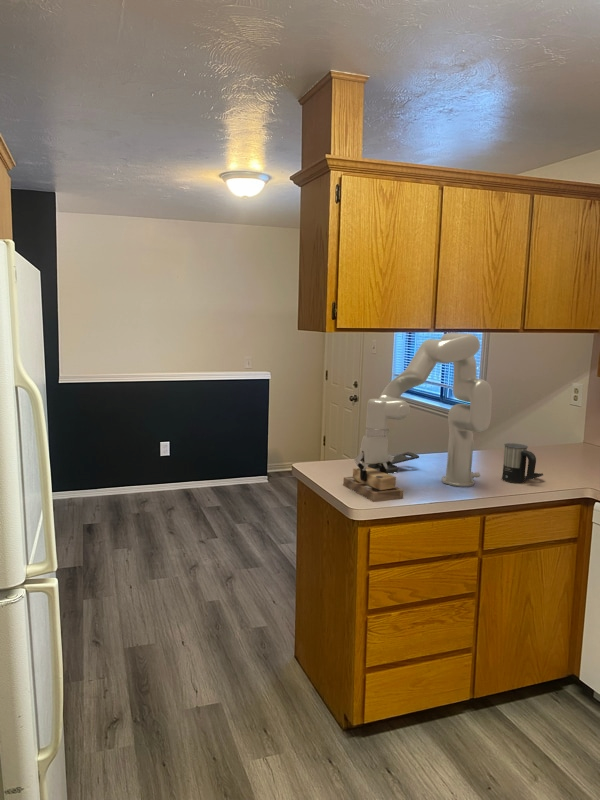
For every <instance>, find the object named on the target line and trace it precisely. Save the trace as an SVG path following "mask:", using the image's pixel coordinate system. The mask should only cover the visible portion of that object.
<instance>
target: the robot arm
mask: <svg viewBox="0 0 600 800" xmlns="http://www.w3.org/2000/svg"><path fill="white" fill-rule="evenodd" d="M480 347H481V343H480V339H479V338H478V337H477V335H475V334H472V333H462V332H447V333H444V334H443V335H442V336H441V337H440V339H435V338H434V339H433V338H431V339H426V340H424V341H423V342H422V343H421V345H420V346H419V347H418V349H417V351H416V353H415V354H414V356H413V357H412V358H411V360H410V362H409V363H408V365H407V367H406V368H405V370H404V371H402V372H401V373H400V374H398V375H397V376H396V377H394V378H393V379H391V381H390V382H389V383H388V384H387V385H386V386H385V388H384V389H383V391H382V392H381V394H380V396H379V398H370V399H368V401H367V405H366V406H367V407H366V419H365V420H366V421H365V422H366V423H365V435H363V436H362V438H361V439H362V440H361V444H360V448H359V454H358V455H357V456H356V457H355V458H354V459H353V461H354V462H355V464H356V466H357V468H359V469H361V470H360V479H361V480H363V481H366V479H367V471H366V468H367V467H368V465H369V464H378V463H380V465H381V467H380V471H381V472H383V473H386V469H388V466H389V465H390V464H391V462H392V460H393V459H394V457H393V455H392V454H391V453H389V441H388V440H389V438H388V436H387V434H388V433H389V432H390V430H389V428H388V427H387V426H388V420H397V421H399V420H404V419H406V418H408V416H409V415H410V413H411V406H410V405H409V403H408V402H407V401H405V400H404V399H400V398H401V396H403V394H404V393H405V392H407V391H409V390H410V389H412V388H415V387H419V386H421V385H423V384H425V383H426V381H427V379H428V378H429V376H430V375H431V373H432V371H433V370H434V368H435V366H436V365H437V363H438V364H450V363H452V365H453V381H452V382H453V383H452V394H453V396H454V398H456V399H457V400H458V401H462V402H466V403H470V404H466V403H456V404H454V405H452V406H451V407H450V409H449V411H448V414H447V421H448V430H449V432H448V433H449V434H448V445H447V459H446V471H445V472H446V473H445V476H442V478H441V482H442V483H444V484H446V485H449V486H453V487H462V488H464V487H465V488H466V487H473V486H474V485H475V481H474V478H480V477H481V473H480V472H479V471H478V472H473V471H472V465H473V453H474V441H475V439H474V433H484V432H485V431H487V429H489V426H490V423H491V419H492V405H493V403H492V402H493V390H492V387H491V385H490V383H488V381H486V380H484V379H482V378H477V361H476V358H475V355H476V354H477V353H478V352H479V350H480Z"/></svg>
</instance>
